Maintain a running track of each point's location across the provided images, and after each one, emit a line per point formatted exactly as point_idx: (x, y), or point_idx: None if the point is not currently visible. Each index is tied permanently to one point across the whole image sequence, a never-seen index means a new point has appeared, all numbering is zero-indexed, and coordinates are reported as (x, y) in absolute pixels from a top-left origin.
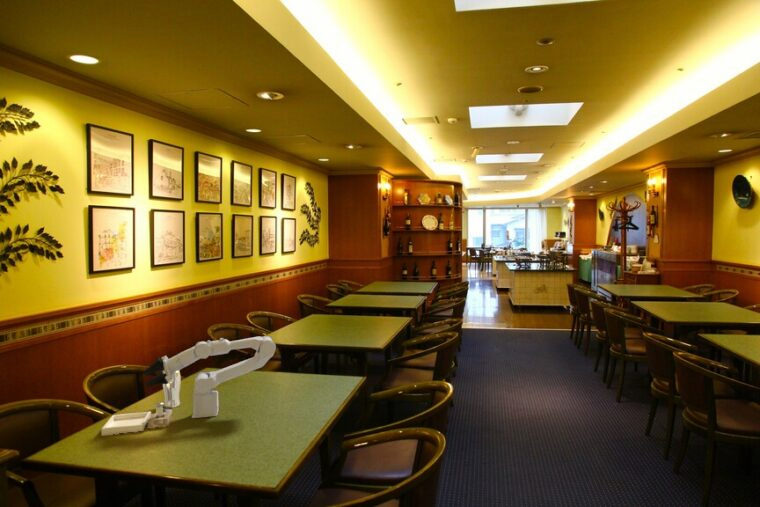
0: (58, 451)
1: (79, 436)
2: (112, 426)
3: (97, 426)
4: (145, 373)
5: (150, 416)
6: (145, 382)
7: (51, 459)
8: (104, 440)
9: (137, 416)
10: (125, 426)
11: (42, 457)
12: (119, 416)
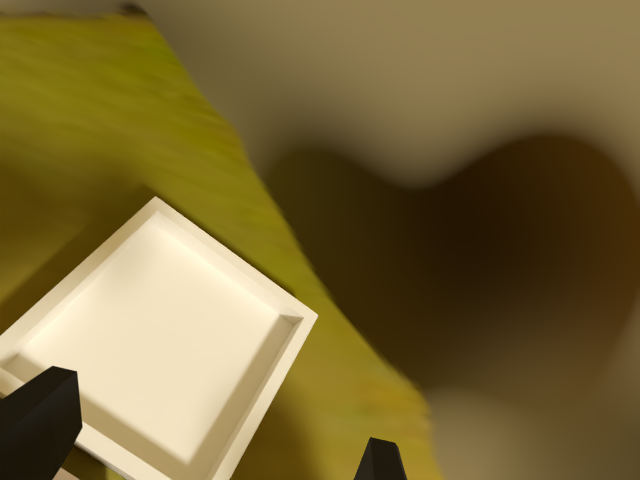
0: (132, 70)
1: (229, 171)
2: (208, 280)
3: (290, 257)
4: (361, 467)
5: (62, 472)
6: (75, 373)
7: (71, 25)
8: (71, 195)
9: (236, 429)
10: (63, 282)
11: (125, 29)
12: (289, 339)
